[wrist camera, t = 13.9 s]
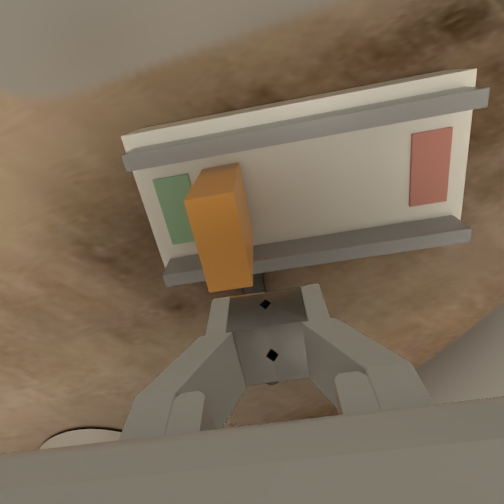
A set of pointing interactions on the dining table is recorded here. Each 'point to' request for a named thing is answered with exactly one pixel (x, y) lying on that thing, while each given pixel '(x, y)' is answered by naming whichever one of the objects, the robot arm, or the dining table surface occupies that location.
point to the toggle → (222, 227)
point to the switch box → (319, 173)
